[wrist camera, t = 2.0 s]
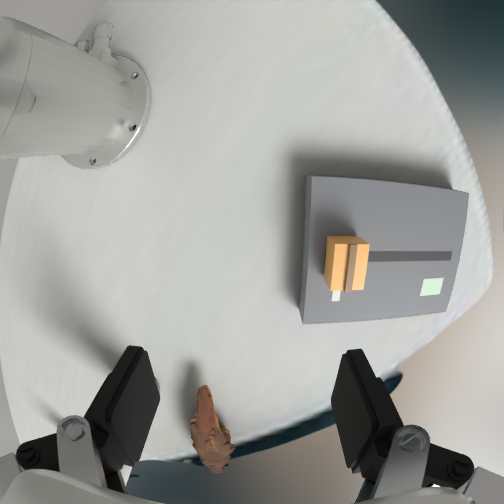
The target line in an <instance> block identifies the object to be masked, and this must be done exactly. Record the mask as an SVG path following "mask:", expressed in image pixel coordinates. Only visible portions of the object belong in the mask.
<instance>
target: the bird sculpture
mask: <svg viewBox="0 0 504 504" xmlns="http://www.w3.org/2000/svg"><path fill="white" fill-rule="evenodd" d="M197 397H198V399H197V407H196V412H195V414H194V418H193V419H192V420H189V423H191V424H192V426H190V427H191V428H190V430H191V435H192V436H191V438H192V439H193V444H192V445H193V447H194V448H195V450H196V451H197V453H198V455H199V456H200V459H201V462H202V463H203V464H204V465H206V466H207V467H208V468H209V470H210V471H211V472H213V473H216V474H221V473H223V472H224V469H225V467H226V466H228V463H229V462H230V453H231V452H233V451H234V449H235V447H233V446H234V445H235V444H233V445H232V444H231V443H230V439H231V437H230V432H229V430H227V429H225V428H223V427H221V428H220V427H219V421H218V418H217V415H216V414H215V409H214V405H213V401H212V394H211V392H210V389H209V387H208V386H207V385H204V386H202V387H200V388H199V389H198V393H197Z"/></svg>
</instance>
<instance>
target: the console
mask: <svg viewBox="0 0 504 504" xmlns="http://www.w3.org/2000/svg"><path fill="white" fill-rule="evenodd" d="M468 198H469V193H466V192H462V191H458V190H453V189H447V188H441V187H434V186H427V185H420V184H412V183H404V182H395V181H386V180H376V179H365V178H352V177H337V176H319V175H306V179H305V216H304V239H303V258H302V274H301V289H300V302H299V311H300V315H301V319H302V323H303V324H320V323H339V322H355V321H368V320H380V319H391V318H401V317H410V316H418V315H426V314H434V313H441V312H446V310H447V306H448V303H449V300H450V296H451V292H452V289H453V285H454V281H455V277H456V273H457V268H458V264H459V259H460V254H461V249H462V243H463V237H464V231H465V224H466V217H467V208H468ZM327 236H360V237H361V238H362V239H363V240H365V241H366V242H367V243H369V244H370V247H369V255H368V262H367V269H366V276H365V283H364V289H363V290H352V292H347V293H345V292H344V290H342V291H330V289H329V288H328V286H327V284H326V282H325V280H324V271H325V259H326V247H327Z"/></svg>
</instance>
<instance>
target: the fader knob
mask: <svg viewBox="0 0 504 504" xmlns="http://www.w3.org/2000/svg"><path fill="white" fill-rule="evenodd" d="M369 247H370V244H369V243H367V242H366V241H365V240H363V239H362V238H361V237H360V236H327V247H326V259H325V271H324V280H325V282H326V284H327V286H328V288H329V289H330V291H342V290H344V292H345V293H347V292H352V290H363V289H364V283H365V276H366V269H367V262H368V255H369Z"/></svg>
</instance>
